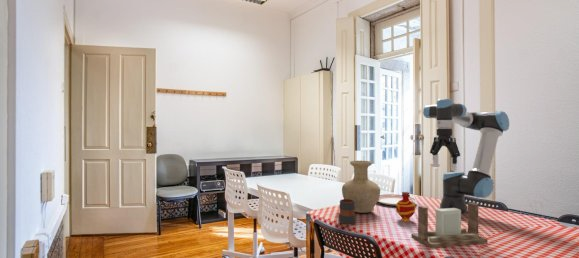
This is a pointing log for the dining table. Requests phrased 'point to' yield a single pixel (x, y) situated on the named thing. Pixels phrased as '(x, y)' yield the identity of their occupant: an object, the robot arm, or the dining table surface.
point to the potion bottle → (405, 207)
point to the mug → (347, 212)
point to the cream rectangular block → (448, 222)
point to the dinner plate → (392, 199)
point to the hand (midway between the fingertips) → (444, 168)
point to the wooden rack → (451, 240)
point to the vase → (361, 188)
